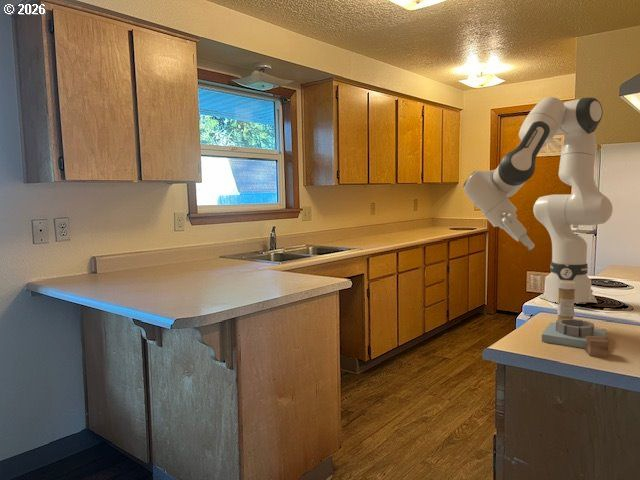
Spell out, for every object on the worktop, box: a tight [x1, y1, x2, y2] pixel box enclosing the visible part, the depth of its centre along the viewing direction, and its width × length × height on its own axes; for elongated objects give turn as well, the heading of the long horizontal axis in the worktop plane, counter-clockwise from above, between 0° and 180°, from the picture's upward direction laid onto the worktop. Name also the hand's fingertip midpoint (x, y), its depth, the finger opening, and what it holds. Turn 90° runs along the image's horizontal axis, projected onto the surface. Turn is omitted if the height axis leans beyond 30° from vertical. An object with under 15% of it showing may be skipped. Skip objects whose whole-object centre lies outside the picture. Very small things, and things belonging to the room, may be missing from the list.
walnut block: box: [584, 336, 610, 358], centre depth 116 cm, size 4×4×4 cm
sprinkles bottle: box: [557, 281, 576, 320], centre depth 139 cm, size 5×5×14 cm
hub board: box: [541, 318, 608, 349], centre depth 127 cm, size 14×14×4 cm
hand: (532, 248), depth 143 cm, fingers open, 8 cm apart
